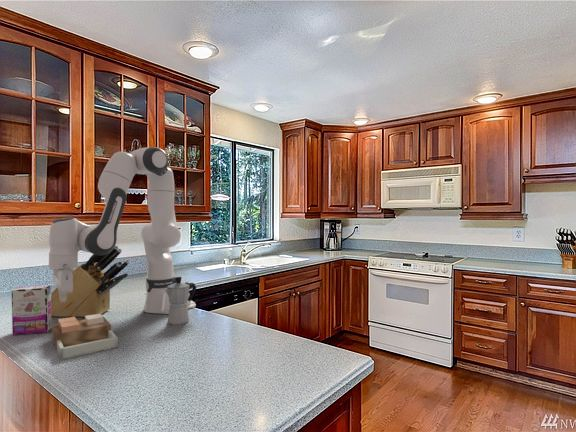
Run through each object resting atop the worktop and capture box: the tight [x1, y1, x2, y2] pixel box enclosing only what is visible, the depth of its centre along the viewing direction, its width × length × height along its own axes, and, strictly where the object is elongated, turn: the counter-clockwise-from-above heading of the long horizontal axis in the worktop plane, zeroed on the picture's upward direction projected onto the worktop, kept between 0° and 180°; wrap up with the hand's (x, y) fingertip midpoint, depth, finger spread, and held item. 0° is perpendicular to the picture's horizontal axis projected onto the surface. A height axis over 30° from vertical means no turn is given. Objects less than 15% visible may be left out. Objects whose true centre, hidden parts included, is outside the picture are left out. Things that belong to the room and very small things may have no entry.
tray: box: [56, 329, 119, 361], centre depth 117 cm, size 16×9×3 cm, turn 128°
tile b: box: [57, 316, 78, 328], centre depth 125 cm, size 5×5×2 cm
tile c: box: [60, 320, 80, 333], centre depth 120 cm, size 5×5×2 cm
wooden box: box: [52, 315, 112, 350], centre depth 125 cm, size 16×12×5 cm
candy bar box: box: [11, 285, 53, 336], centre depth 132 cm, size 11×5×16 cm, turn 105°
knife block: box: [51, 245, 130, 318], centre depth 154 cm, size 11×35×31 cm, turn 89°
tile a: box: [84, 314, 105, 325], centre depth 128 cm, size 5×5×2 cm
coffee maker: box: [165, 276, 197, 326], centre depth 146 cm, size 15×9×18 cm, turn 143°
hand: (62, 301), depth 130 cm, fingers closed
